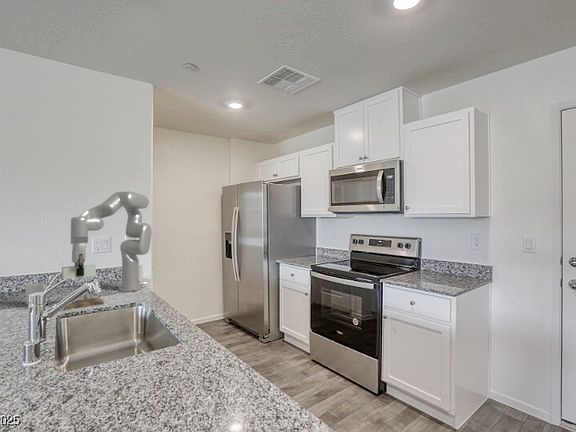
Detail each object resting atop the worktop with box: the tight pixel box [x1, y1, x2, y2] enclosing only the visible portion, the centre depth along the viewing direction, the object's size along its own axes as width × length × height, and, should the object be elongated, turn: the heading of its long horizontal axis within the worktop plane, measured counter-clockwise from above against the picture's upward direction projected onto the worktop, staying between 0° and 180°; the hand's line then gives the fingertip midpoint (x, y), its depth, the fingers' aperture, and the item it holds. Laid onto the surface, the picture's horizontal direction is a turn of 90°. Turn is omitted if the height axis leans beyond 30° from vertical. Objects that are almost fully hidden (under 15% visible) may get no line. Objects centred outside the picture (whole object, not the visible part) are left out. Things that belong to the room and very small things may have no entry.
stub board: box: [53, 293, 104, 311], centre depth 164 cm, size 20×12×5 cm, turn 131°
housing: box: [61, 264, 97, 280], centre depth 164 cm, size 14×6×6 cm, turn 131°
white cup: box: [24, 282, 45, 306], centre depth 169 cm, size 8×8×10 cm
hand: (79, 274), depth 164 cm, fingers closed on housing, 6 cm apart
